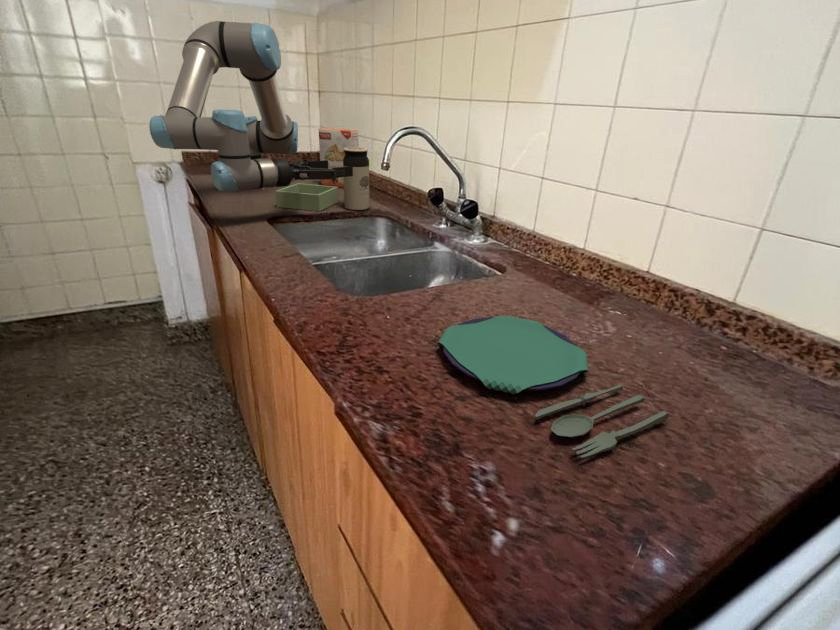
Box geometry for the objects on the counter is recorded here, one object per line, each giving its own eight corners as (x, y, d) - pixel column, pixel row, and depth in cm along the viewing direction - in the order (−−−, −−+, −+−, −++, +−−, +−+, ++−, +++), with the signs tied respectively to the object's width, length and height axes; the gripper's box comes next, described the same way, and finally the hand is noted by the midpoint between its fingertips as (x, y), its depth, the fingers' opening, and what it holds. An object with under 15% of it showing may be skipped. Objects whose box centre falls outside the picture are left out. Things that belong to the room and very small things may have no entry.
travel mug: (340, 206, 145) (337, 147, 137) (361, 204, 150) (360, 146, 142) (352, 211, 140) (350, 150, 132) (374, 209, 144) (373, 149, 136)
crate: (298, 198, 154) (297, 183, 152) (338, 202, 151) (338, 186, 149) (276, 207, 141) (275, 190, 139) (319, 211, 138) (318, 195, 136)
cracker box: (320, 185, 175) (317, 127, 166) (329, 183, 180) (326, 127, 171) (351, 189, 171) (350, 130, 162) (359, 187, 176) (358, 129, 167)
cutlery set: (520, 318, 77) (522, 306, 76) (681, 422, 53) (687, 407, 52) (417, 341, 68) (418, 328, 67) (555, 478, 45) (559, 460, 44)
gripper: (255, 180, 133) (319, 174, 145) (295, 195, 116) (363, 187, 129) (252, 153, 129) (317, 150, 142) (293, 165, 113) (363, 160, 126)
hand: (339, 168), depth 136 cm, fingers open, 13 cm apart
